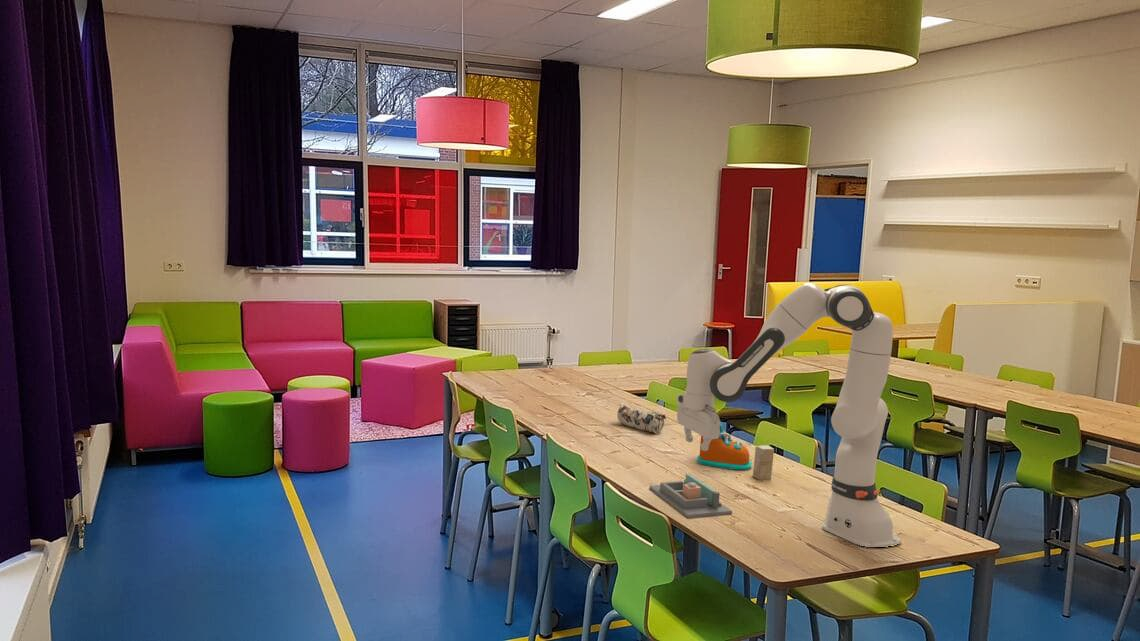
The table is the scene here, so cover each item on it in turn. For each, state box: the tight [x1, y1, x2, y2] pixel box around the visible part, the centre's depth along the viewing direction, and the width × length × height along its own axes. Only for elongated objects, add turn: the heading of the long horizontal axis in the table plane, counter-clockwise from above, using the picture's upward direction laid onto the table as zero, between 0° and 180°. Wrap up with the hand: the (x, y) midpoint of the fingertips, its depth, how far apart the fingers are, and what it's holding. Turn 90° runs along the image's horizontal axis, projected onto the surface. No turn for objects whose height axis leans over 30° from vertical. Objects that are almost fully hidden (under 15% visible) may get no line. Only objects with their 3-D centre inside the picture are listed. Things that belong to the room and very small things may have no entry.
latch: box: [684, 473, 717, 505], centre depth 246 cm, size 17×1×4 cm, turn 20°
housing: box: [649, 479, 733, 519], centre depth 245 cm, size 26×15×6 cm, turn 20°
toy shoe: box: [696, 420, 753, 471], centre depth 285 cm, size 12×20×15 cm, turn 71°
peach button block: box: [683, 482, 701, 499], centre depth 240 cm, size 4×4×6 cm
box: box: [752, 445, 775, 481], centre depth 271 cm, size 5×4×11 cm
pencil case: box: [616, 402, 667, 435], centre depth 329 cm, size 22×8×10 cm, turn 45°
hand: (696, 445), depth 239 cm, fingers open, 8 cm apart
